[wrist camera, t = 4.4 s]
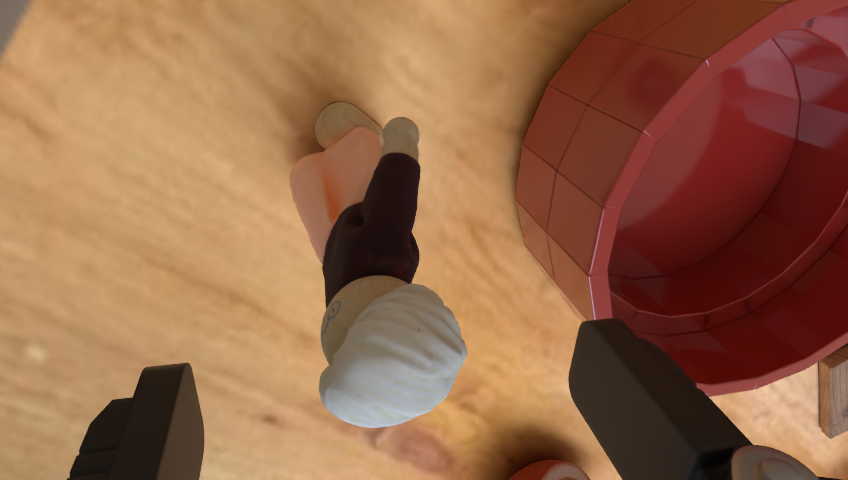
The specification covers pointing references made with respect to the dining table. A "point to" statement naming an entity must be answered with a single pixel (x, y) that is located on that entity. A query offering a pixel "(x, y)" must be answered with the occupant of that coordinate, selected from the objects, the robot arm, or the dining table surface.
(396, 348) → the grandmother figurine
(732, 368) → the red bowl
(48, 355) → the dining table surface
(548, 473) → the fruit slice
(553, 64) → the dining table surface
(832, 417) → the stuffed bird
